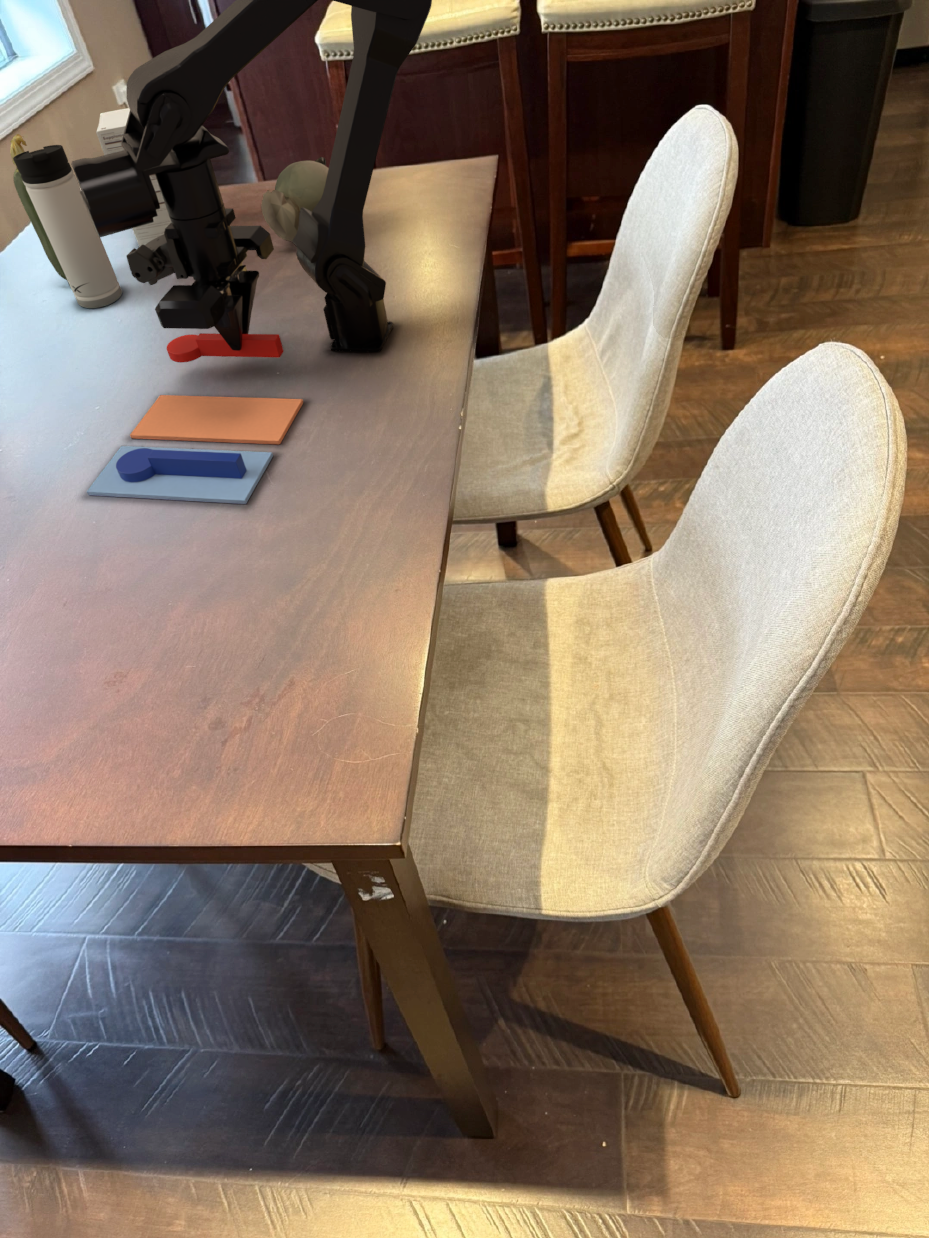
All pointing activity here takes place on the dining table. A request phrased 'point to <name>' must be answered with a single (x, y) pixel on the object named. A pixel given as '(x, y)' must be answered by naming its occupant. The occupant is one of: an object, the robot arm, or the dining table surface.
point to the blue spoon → (179, 464)
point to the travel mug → (69, 225)
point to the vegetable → (32, 207)
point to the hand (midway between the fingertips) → (239, 345)
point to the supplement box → (110, 142)
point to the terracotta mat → (218, 419)
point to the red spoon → (223, 346)
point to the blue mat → (184, 481)
